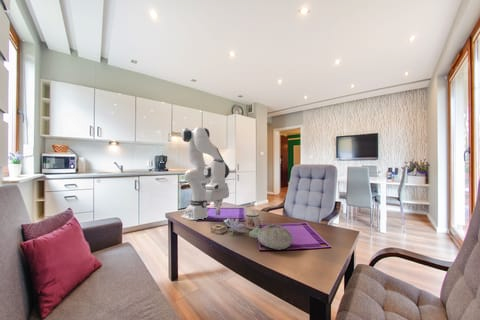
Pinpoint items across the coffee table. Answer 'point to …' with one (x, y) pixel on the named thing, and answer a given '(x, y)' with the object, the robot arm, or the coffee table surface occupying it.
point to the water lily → (235, 225)
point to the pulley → (227, 222)
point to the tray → (254, 233)
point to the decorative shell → (275, 237)
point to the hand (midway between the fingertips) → (218, 206)
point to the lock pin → (218, 207)
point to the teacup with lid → (252, 220)
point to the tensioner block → (218, 229)
